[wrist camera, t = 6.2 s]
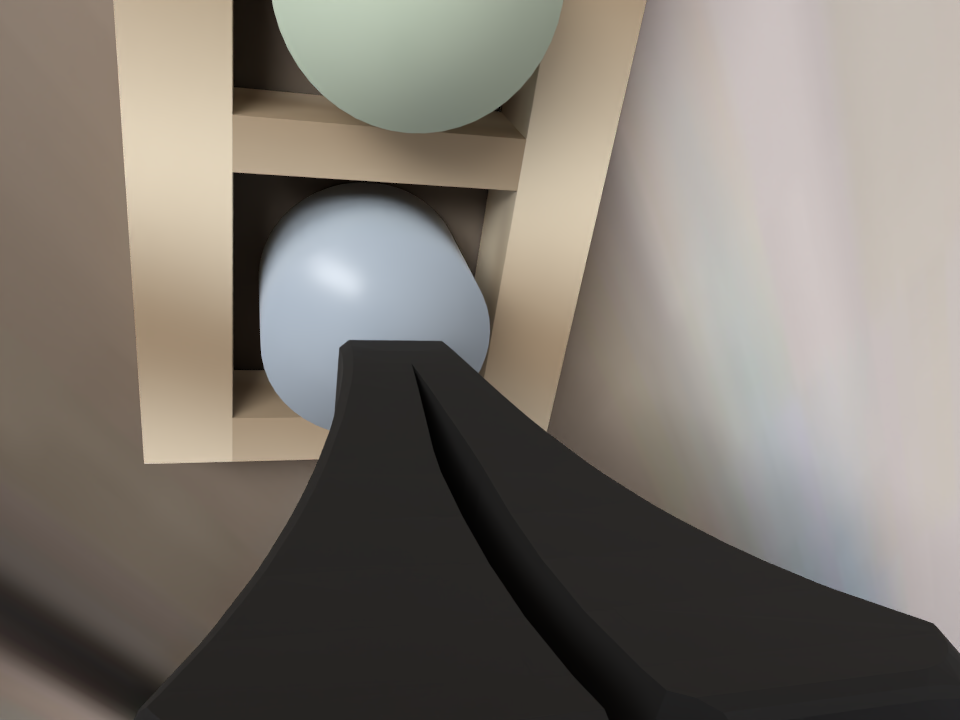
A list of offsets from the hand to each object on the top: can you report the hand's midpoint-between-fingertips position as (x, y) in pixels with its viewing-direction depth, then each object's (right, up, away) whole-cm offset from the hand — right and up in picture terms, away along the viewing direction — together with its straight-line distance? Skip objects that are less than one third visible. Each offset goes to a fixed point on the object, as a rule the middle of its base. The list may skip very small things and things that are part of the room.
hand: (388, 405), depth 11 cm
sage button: (0, +6, +1) cm, 7 cm away
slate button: (-1, +2, +4) cm, 5 cm away
